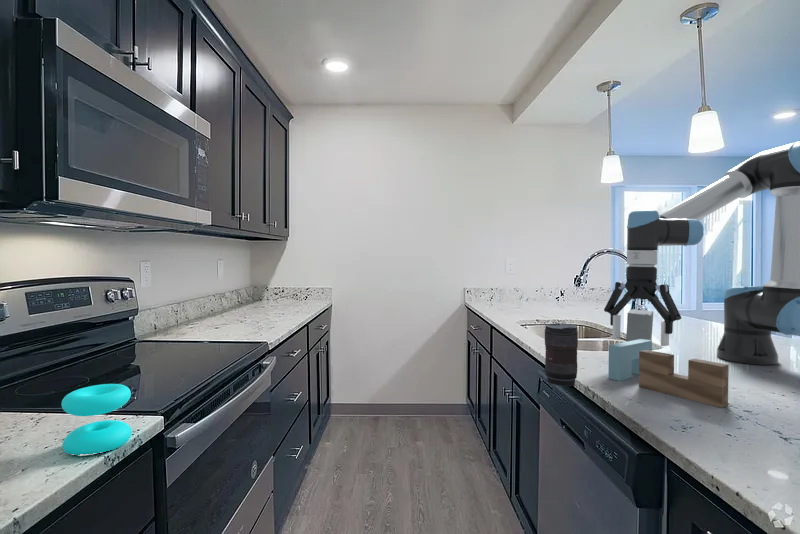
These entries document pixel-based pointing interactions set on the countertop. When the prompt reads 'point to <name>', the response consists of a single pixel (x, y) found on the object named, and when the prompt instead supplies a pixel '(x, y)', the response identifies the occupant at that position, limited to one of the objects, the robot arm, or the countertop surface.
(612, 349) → the light blue notched block
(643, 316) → the skincare box
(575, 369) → the camera lens
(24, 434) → the countertop surface
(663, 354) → the walnut notched block
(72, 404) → the donuts
